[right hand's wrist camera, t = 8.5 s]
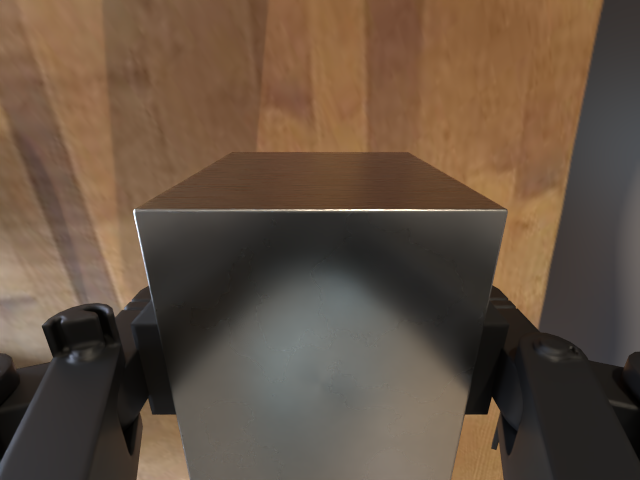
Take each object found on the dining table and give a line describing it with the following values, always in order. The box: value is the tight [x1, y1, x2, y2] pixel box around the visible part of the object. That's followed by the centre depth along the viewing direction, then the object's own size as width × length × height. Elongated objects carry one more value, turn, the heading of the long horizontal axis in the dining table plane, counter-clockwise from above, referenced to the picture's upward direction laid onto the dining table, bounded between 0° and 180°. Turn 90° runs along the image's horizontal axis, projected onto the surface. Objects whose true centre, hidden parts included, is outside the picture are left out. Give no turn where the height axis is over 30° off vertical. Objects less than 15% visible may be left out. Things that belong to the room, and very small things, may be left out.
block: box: [134, 152, 508, 480], centre depth 11 cm, size 8×7×8 cm
